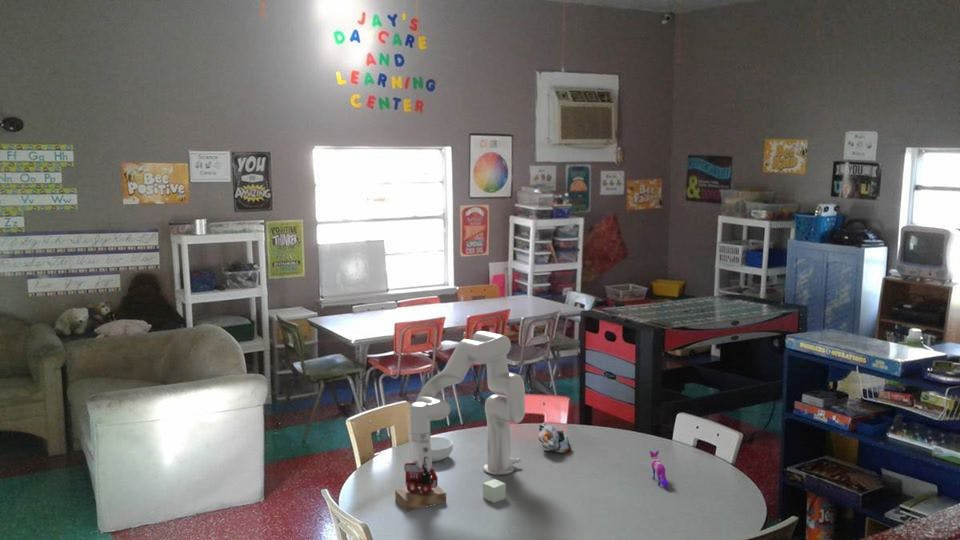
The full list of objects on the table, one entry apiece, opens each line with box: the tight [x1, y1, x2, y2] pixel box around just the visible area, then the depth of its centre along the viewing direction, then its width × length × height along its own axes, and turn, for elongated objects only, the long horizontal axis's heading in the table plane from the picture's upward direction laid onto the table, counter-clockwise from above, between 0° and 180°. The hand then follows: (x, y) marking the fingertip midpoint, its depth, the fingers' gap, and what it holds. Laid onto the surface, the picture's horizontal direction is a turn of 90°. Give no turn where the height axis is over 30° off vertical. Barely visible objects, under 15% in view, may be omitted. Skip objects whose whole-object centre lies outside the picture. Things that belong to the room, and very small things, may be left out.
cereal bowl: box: [429, 436, 454, 463], centre depth 341 cm, size 17×17×7 cm
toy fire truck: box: [403, 462, 439, 494], centre depth 297 cm, size 7×12×10 cm, turn 83°
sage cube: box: [482, 478, 507, 504], centre depth 301 cm, size 6×6×6 cm
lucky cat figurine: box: [538, 422, 573, 454], centre depth 350 cm, size 15×12×14 cm
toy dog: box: [649, 450, 669, 488], centre depth 316 cm, size 4×18×10 cm, turn 6°
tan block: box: [394, 485, 447, 512], centre depth 298 cm, size 16×11×4 cm
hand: (420, 479), depth 297 cm, fingers closed on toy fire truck, 8 cm apart
